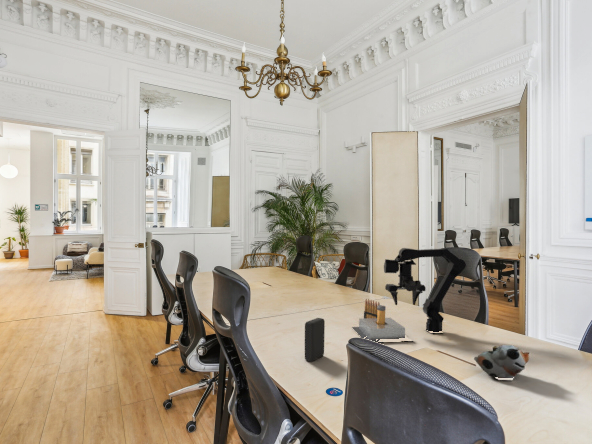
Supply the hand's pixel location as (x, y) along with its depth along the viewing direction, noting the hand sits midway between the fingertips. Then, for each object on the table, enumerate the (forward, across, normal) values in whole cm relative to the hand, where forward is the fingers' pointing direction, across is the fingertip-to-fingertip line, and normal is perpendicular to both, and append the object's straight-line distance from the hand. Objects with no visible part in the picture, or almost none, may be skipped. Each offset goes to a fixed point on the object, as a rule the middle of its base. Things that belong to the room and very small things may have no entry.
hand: (405, 304), depth 168 cm
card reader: (+13, -51, -28) cm, 60 cm away
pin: (+12, -14, -4) cm, 19 cm away
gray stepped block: (+13, -14, -4) cm, 19 cm away
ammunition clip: (+13, -11, +16) cm, 24 cm away
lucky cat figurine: (+13, +13, -50) cm, 53 cm away
